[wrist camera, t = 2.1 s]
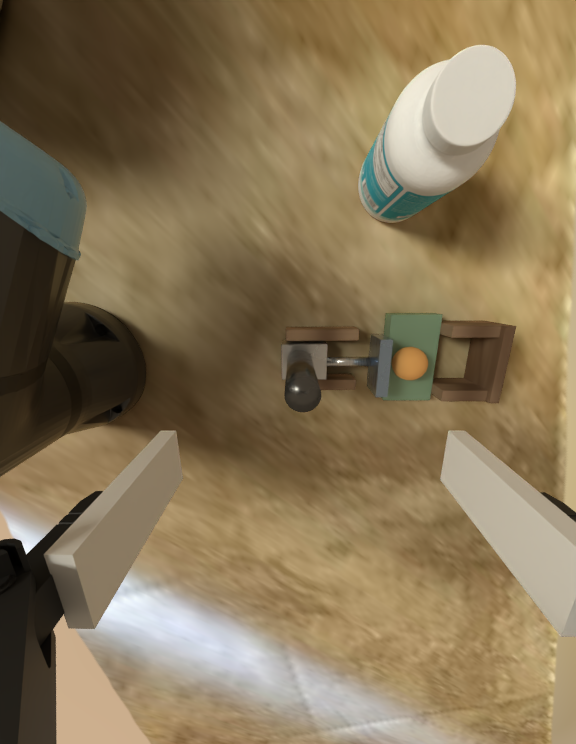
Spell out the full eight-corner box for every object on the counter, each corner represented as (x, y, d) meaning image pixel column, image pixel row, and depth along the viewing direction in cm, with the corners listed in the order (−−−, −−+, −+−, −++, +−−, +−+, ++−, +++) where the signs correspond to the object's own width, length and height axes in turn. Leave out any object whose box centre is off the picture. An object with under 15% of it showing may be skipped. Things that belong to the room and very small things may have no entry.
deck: (378, 394, 35) (383, 400, 33) (385, 313, 32) (391, 314, 30) (422, 394, 35) (429, 400, 33) (433, 313, 32) (442, 314, 30)
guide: (287, 383, 35) (286, 389, 33) (286, 327, 33) (286, 329, 31) (351, 383, 35) (355, 389, 32) (354, 326, 33) (359, 329, 30)
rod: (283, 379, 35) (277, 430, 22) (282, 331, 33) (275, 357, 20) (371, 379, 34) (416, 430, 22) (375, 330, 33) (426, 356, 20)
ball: (385, 374, 32) (396, 384, 29) (388, 344, 31) (400, 350, 28) (417, 374, 32) (431, 384, 29) (421, 343, 31) (437, 350, 28)
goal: (423, 387, 35) (444, 403, 30) (432, 320, 32) (456, 326, 28) (470, 387, 35) (498, 403, 30) (483, 320, 32) (516, 326, 27)
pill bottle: (444, 164, 28) (574, 58, 15) (403, 237, 30) (488, 198, 17) (379, 125, 27) (459, -23, 14) (342, 203, 29) (382, 134, 16)
